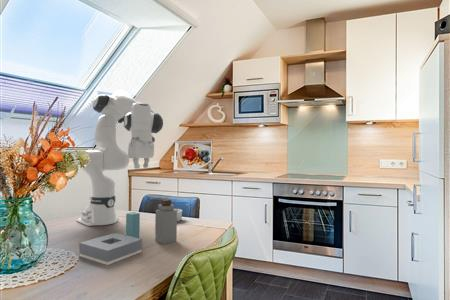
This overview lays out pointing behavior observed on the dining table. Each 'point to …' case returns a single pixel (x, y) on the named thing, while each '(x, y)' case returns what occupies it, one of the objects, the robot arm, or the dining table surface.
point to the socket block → (110, 248)
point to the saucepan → (179, 214)
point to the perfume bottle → (166, 222)
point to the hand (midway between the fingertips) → (141, 168)
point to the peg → (133, 224)
